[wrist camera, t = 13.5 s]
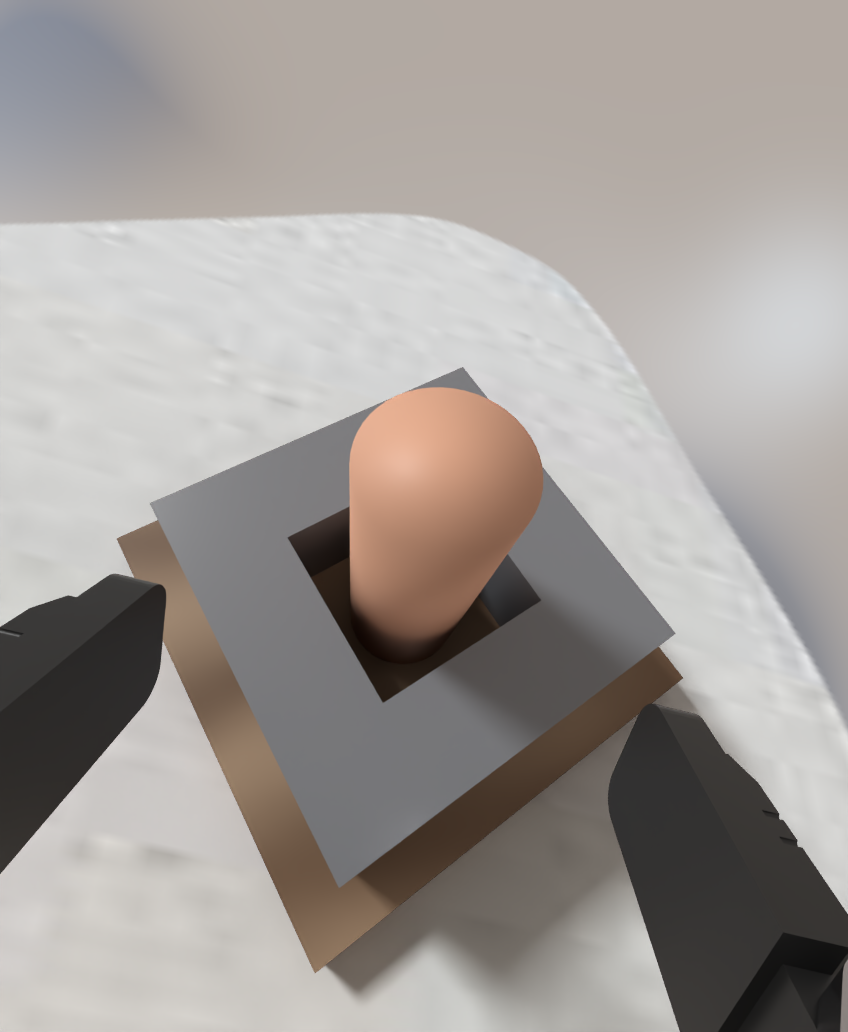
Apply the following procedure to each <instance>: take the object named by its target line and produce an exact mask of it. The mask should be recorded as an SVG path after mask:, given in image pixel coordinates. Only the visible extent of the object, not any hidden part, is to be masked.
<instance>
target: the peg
mask: <svg viewBox="0 0 848 1032" xmlns="http://www.w3.org/2000/svg"><path fill="white" fill-rule="evenodd" d="M349 484H350V614H351V622H352V627H353V630H354V632H355V634H356V636H357V638H358V640H359V641H360V643H361V644H362V645H363V646H364V647H365V648H366V649H367V650H368V651H369V652H370V653H371V654H373V655H374V656H376V657H378V658H380V659H382V660H384V661H387V662H390V663H396V664H409V663H415V662H419V661H421V660H424V659H426V658H428V657H429V656H431V655H432V654H434V653H435V652H436V651H437V650H438V649H439V648H441V646H442V645H443V644H444V643H445V641H446V640H447V638H448V637H449V636H450V634H451V633H452V631H453V630H454V628H455V627H456V626H457V624H458V623H459V621H460V620H461V619H462V617H463V616H464V614H465V613H466V612H467V610H468V609H469V607H470V606H471V605H472V603H473V602H474V600H475V599H476V597H477V596H478V595H479V593H480V592H481V590H482V589H483V588H484V586H485V585H486V583H487V582H488V581H489V579H490V578H491V576H492V575H493V574H494V572H495V571H496V569H497V568H498V566H499V565H500V564H501V562H502V561H503V559H504V558H505V557H506V555H507V554H508V552H509V551H510V550H511V548H512V547H513V545H514V544H515V542H516V541H517V540H518V538H519V537H520V535H521V534H522V533H523V531H524V530H525V528H526V527H527V526H528V524H529V523H530V521H531V520H532V518H533V516H534V515H535V513H536V511H537V509H538V506H539V503H540V501H541V496H542V491H543V468H542V463H541V459H540V456H539V453H538V451H537V448H536V446H535V444H534V442H533V440H532V438H531V437H530V435H529V434H528V432H527V431H526V430H525V428H524V427H523V426H522V425H521V424H520V423H519V421H518V420H517V419H516V418H515V417H513V416H512V415H511V414H510V413H509V412H508V411H506V410H505V409H504V408H502V407H501V406H499V405H498V404H496V403H494V402H492V401H491V400H489V399H487V398H485V397H482V396H480V395H477V394H475V393H471V392H468V391H465V390H459V389H454V388H444V387H430V388H422V389H416V390H412V391H408V392H405V393H402V394H400V395H397V396H395V397H393V398H391V399H389V400H387V401H386V402H384V403H383V404H381V405H380V406H379V407H377V408H376V409H375V410H374V411H373V412H372V413H371V414H370V415H369V416H368V417H367V418H366V419H365V421H364V422H363V423H362V425H361V427H360V428H359V430H358V432H357V434H356V436H355V438H354V441H353V444H352V448H351V452H350V463H349Z"/></svg>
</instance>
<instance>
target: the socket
mask: <svg viewBox="0 0 848 1032" xmlns="http://www.w3.org/2000/svg"><path fill="white" fill-rule="evenodd" d="M430 387H444V388H454V389H459V390H465V391H468V392H471V393H475V394H477V395H480V396H482V397H485V398H487V397H486V396H485V394H484V393H483V392H482V391H481V389H480V388H479V387H478V386H477V384H476V383H475V382H474V381H473V379H472V378H471V377H470V376H469V374H468V373H467V372H466V371H465V369H464V368H463V367H462V368H460V369H457V370H455V371H453V372H451V373H448V374H446V375H444V376H441V377H439V378H437V379H434V380H432V381H430V382H428V383H425V384H423V385H421V386H418V387H416V388H414V389H412V390H416V389H422V388H430ZM412 390H409V391H412ZM407 392H408V391H407ZM487 399H488V398H487ZM386 401H387V400H386ZM386 401H384V402H386ZM384 402H382V403H379V404H377V405H375V406H372V407H370V408H368V409H366V410H363V411H361V412H359V413H356V414H354V415H352V416H349V417H347V418H345V419H343V420H340V421H338V422H336V423H333V424H331V425H329V426H327V427H324V428H322V429H320V430H317V431H315V432H313V433H310V434H308V435H306V436H304V437H301V438H299V439H297V440H294V441H292V442H290V443H287V444H285V445H283V446H281V447H278V448H276V449H274V450H271V451H269V452H267V453H264V454H262V455H260V456H258V457H255V458H253V459H251V460H248V461H246V462H244V463H241V464H239V465H237V466H235V467H232V468H230V469H228V470H225V471H223V472H221V473H219V474H216V475H214V476H212V477H209V478H207V479H205V480H202V481H200V482H198V483H196V484H193V485H191V486H189V487H186V488H184V489H182V490H179V491H177V492H175V493H173V494H170V495H168V496H166V497H163V498H161V499H159V500H156V501H154V502H152V503H150V505H151V507H152V509H153V511H154V513H155V515H156V517H157V519H158V521H159V523H160V525H161V527H162V529H163V531H164V533H165V535H166V537H167V539H168V541H169V543H170V545H171V547H172V549H173V551H174V554H175V556H176V558H177V560H178V562H179V564H180V566H181V568H182V570H183V572H184V574H185V576H186V578H187V580H188V582H189V584H190V586H191V588H192V590H193V592H194V594H195V596H196V598H197V600H198V602H199V604H200V606H201V608H202V610H203V613H204V615H205V617H206V619H207V621H208V623H209V625H210V627H211V629H212V631H213V633H214V635H215V637H216V639H217V641H218V643H219V645H220V647H221V649H222V651H223V653H224V655H225V657H226V659H227V661H228V663H229V665H230V667H231V669H232V671H233V674H234V676H235V678H236V680H237V682H238V684H239V686H240V688H241V690H242V692H243V694H244V696H245V698H246V700H247V702H248V704H249V706H250V708H251V710H252V712H253V714H254V716H255V718H256V720H257V722H258V724H259V726H260V728H261V730H262V732H263V735H264V737H265V739H266V741H267V743H268V745H269V747H270V749H271V751H272V753H273V755H274V757H275V759H276V761H277V763H278V765H279V767H280V769H281V771H282V773H283V775H284V777H285V779H286V781H287V783H288V785H289V787H290V789H291V791H292V794H293V796H294V798H295V800H296V802H297V804H298V806H299V808H300V810H301V812H302V814H303V816H304V818H305V820H306V822H307V824H308V826H309V828H310V830H311V832H312V834H313V836H314V838H315V840H316V842H317V844H318V846H319V848H320V850H321V852H322V855H323V857H324V859H325V861H326V863H327V865H328V867H329V869H330V871H331V873H332V875H333V877H334V879H335V881H336V883H337V885H338V887H339V888H340V887H341V886H343V885H344V884H345V883H347V882H348V881H349V880H351V879H352V878H353V877H355V876H356V875H357V874H359V873H360V872H361V871H363V870H364V869H365V868H366V867H368V866H369V865H370V864H372V863H373V862H374V861H376V860H377V859H378V858H380V857H381V856H382V855H384V854H385V853H386V852H388V851H389V850H390V849H392V848H393V847H394V846H396V845H397V844H398V843H400V842H401V841H402V840H403V839H405V838H406V837H407V836H409V835H410V834H411V833H413V832H414V831H415V830H417V829H418V828H419V827H421V826H422V825H423V824H425V823H426V822H427V821H429V820H430V819H431V818H433V817H434V816H435V815H437V814H438V813H439V812H440V811H442V810H443V809H444V808H446V807H447V806H448V805H450V804H451V803H452V802H454V801H455V800H456V799H458V798H459V797H460V796H462V795H463V794H464V793H466V792H467V791H468V790H470V789H471V788H472V787H473V786H475V785H476V784H477V783H479V782H480V781H481V780H483V779H484V778H485V777H487V776H488V775H489V774H491V773H492V772H493V771H495V770H496V769H497V768H499V767H500V766H501V765H503V764H504V763H505V762H507V761H508V760H509V759H510V758H512V757H513V756H514V755H516V754H517V753H518V752H520V751H521V750H522V749H524V748H525V747H526V746H528V745H529V744H530V743H532V742H533V741H534V740H536V739H537V738H538V737H540V736H541V735H542V734H544V733H545V732H546V731H547V730H549V729H550V728H551V727H553V726H554V725H555V724H557V723H558V722H559V721H561V720H562V719H563V718H565V717H566V716H567V715H569V714H570V713H571V712H573V711H574V710H575V709H577V708H578V707H579V706H581V705H582V704H583V703H584V702H586V701H587V700H588V699H590V698H591V697H592V696H594V695H595V694H596V693H598V692H599V691H600V690H602V689H603V688H604V687H606V686H607V685H608V684H610V683H611V682H612V681H614V680H615V679H616V678H618V677H619V676H620V675H621V674H623V673H624V672H625V671H627V670H628V669H629V668H631V667H632V666H633V665H635V664H636V663H637V662H639V661H640V660H641V659H643V658H644V657H645V656H647V655H648V654H649V653H651V652H652V651H653V650H654V649H656V648H657V647H658V646H660V645H661V644H662V643H664V642H665V641H666V640H668V639H669V638H670V637H672V636H673V635H674V634H676V633H675V632H674V631H673V630H672V628H671V627H670V626H669V625H668V623H667V622H666V621H665V620H664V618H663V617H662V616H661V615H660V613H659V612H658V611H657V610H656V608H655V607H654V606H653V605H652V603H651V602H650V601H649V600H648V598H647V597H646V596H645V595H644V593H643V592H642V591H641V590H640V588H639V587H638V586H637V585H636V583H635V582H634V581H633V580H632V578H631V577H630V576H629V575H628V573H627V572H626V571H625V570H624V568H623V567H622V566H621V565H620V563H619V562H618V561H617V560H616V558H615V557H614V556H613V555H612V553H611V552H610V551H609V550H608V548H607V547H606V546H605V545H604V543H603V542H602V541H601V540H600V538H599V537H598V536H597V535H596V533H595V532H594V531H593V530H592V528H591V527H590V526H589V525H588V523H587V522H586V521H585V520H584V518H583V517H582V516H581V515H580V513H579V512H578V511H577V510H576V508H575V507H574V506H573V505H572V503H571V502H570V501H569V500H568V498H567V497H566V496H565V495H564V493H563V492H562V491H561V490H560V488H559V487H558V486H557V485H556V483H555V482H554V481H553V480H552V478H551V477H550V476H549V475H548V473H547V472H546V471H545V470H544V468H543V467H542V468H543V491H542V496H541V501H540V503H539V506H538V509H537V511H536V513H535V515H534V516H533V518H532V520H531V521H530V523H529V524H528V526H527V527H526V528H525V530H524V531H523V533H522V534H521V535H520V537H519V538H518V540H517V541H516V542H515V544H514V545H513V547H512V548H511V550H510V551H509V552H508V554H507V555H506V557H505V558H504V559H503V561H502V562H501V564H500V565H499V566H498V568H497V569H496V571H495V572H494V574H493V575H492V576H491V578H490V579H489V581H488V582H487V583H486V585H485V586H484V588H483V589H482V590H481V592H480V593H479V595H478V596H479V597H480V599H481V600H482V602H483V603H484V605H485V606H486V608H487V609H488V610H489V612H490V613H491V615H492V616H493V618H494V619H495V621H496V622H497V624H498V625H499V627H500V628H498V629H496V630H495V631H493V632H492V633H490V634H489V635H487V636H486V637H484V638H483V639H481V640H480V641H478V642H476V643H475V644H473V645H472V646H470V647H469V648H467V649H466V650H464V651H463V652H461V653H459V654H458V655H456V656H455V657H453V658H452V659H450V660H449V661H447V662H446V663H444V664H443V665H441V666H439V667H438V668H436V669H435V670H433V671H432V672H430V673H429V674H427V675H426V676H424V677H423V678H421V679H419V680H418V681H416V682H415V683H413V684H412V685H410V686H409V687H407V688H406V689H404V690H402V691H401V692H399V693H398V694H396V695H395V696H393V697H392V698H390V699H389V700H387V701H386V702H384V703H383V702H382V701H381V699H380V697H379V695H378V694H377V692H376V690H375V688H374V687H373V685H372V683H371V681H370V680H369V678H368V676H367V675H366V673H365V671H364V669H363V668H362V666H361V664H360V662H359V661H358V659H357V657H356V655H355V654H354V652H353V650H352V649H351V647H350V645H349V643H348V642H347V640H346V638H345V636H344V635H343V633H342V631H341V630H340V628H339V626H338V624H337V623H336V621H335V619H334V617H333V616H332V614H331V612H330V610H329V609H328V607H327V605H326V604H325V602H324V600H323V598H322V597H321V595H320V593H319V591H318V590H317V588H316V586H315V585H314V583H313V581H312V579H311V577H313V576H315V575H316V574H318V573H320V572H322V571H324V570H326V569H328V568H330V567H331V566H333V565H335V564H337V563H339V562H341V561H343V560H345V559H346V558H348V557H350V484H349V463H350V452H351V448H352V444H353V441H354V438H355V436H356V434H357V432H358V430H359V428H360V427H361V425H362V423H363V422H364V421H365V419H366V418H367V417H368V416H369V415H370V414H371V413H372V412H373V411H374V410H375V409H376V408H377V407H379V406H380V405H381V404H383V403H384Z"/></svg>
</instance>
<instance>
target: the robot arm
mask: <svg viewBox="0 0 848 1032" xmlns="http://www.w3.org/2000/svg"><path fill="white" fill-rule="evenodd" d="M165 609H166V590H165V588H164V586H163V585H161V584H157V583H153V582H149V581H145V580H140V579H136V578H132V577H128V576H124V575H120V574H111V575H109V576H107V577H106V578H104V579H103V580H101V581H100V582H98V583H97V584H96V585H94V586H93V587H91V588H90V589H88V590H87V591H85V592H84V593H82V594H81V595H79V596H78V597H73V596H65V597H62V598H59V599H56V600H53V601H50V602H47V603H44V604H41V605H38V606H35V607H32V608H29V609H28V610H26V611H25V612H23V613H22V614H20V615H18V616H17V617H15V618H14V619H12V620H11V621H9V622H7V623H6V624H4V625H3V626H1V627H0V874H1V872H2V871H3V870H4V869H5V868H6V867H7V865H8V864H9V863H10V862H11V861H12V859H13V858H14V857H15V856H16V855H17V854H18V852H19V851H20V850H21V849H22V848H23V847H24V845H25V844H26V843H27V842H28V841H29V839H30V838H31V837H32V836H33V835H34V834H35V832H36V831H37V830H38V829H39V828H40V827H41V825H42V824H43V823H44V822H45V821H46V819H47V818H48V817H49V816H50V815H51V814H52V812H53V811H54V810H55V809H56V808H57V807H58V805H59V804H60V803H61V802H62V801H63V799H64V798H65V797H66V796H67V795H68V794H69V792H70V791H71V790H72V789H73V788H74V787H75V785H76V784H77V783H78V782H79V781H80V779H81V778H82V777H83V776H84V775H85V774H86V772H87V771H88V770H89V769H90V768H91V767H92V765H93V764H94V763H95V762H96V761H97V759H98V758H99V757H100V756H101V755H102V754H103V752H104V751H105V750H106V749H107V748H108V747H109V745H110V744H111V743H112V742H113V741H114V739H115V738H116V737H117V736H118V735H119V734H120V732H121V731H122V730H123V729H124V728H125V727H126V725H127V724H128V723H129V722H130V721H131V719H132V718H133V717H134V716H135V715H136V714H137V712H138V711H139V710H140V709H141V708H142V706H143V705H144V704H145V702H146V701H147V699H148V698H149V696H150V694H151V692H152V690H153V688H154V685H155V683H156V680H157V677H158V674H159V669H160V662H161V652H162V641H163V631H164V620H165ZM608 805H609V813H610V817H611V820H612V823H613V827H614V830H615V833H616V836H617V839H618V842H619V845H620V848H621V851H622V854H623V857H624V860H625V864H626V867H627V870H628V873H629V876H630V879H631V882H632V885H633V888H634V891H635V894H636V897H637V901H638V904H639V907H640V910H641V913H642V916H643V919H644V922H645V925H646V928H647V931H648V934H649V938H650V941H651V944H652V947H653V950H654V953H655V956H656V959H657V962H658V965H659V968H660V972H661V975H662V978H663V981H664V984H665V987H666V990H667V993H668V996H669V999H670V1002H671V1005H672V1009H673V1012H674V1015H675V1018H676V1021H677V1024H678V1027H679V1030H680V1032H848V914H847V913H846V911H845V910H844V908H843V907H842V905H841V904H840V902H839V901H838V899H837V898H836V896H835V895H834V893H833V892H832V890H831V889H830V888H829V886H828V885H827V883H826V882H825V880H824V879H823V877H822V876H821V874H820V873H819V871H818V870H817V868H816V867H815V866H814V864H813V863H812V861H811V860H810V858H809V857H808V855H807V854H806V852H805V851H804V849H803V848H801V847H798V846H797V839H796V838H795V836H794V835H793V833H792V832H791V830H790V829H789V827H788V826H787V824H786V823H785V822H784V820H780V819H779V813H778V811H777V810H776V808H775V807H774V805H773V804H772V802H771V801H770V800H769V798H768V797H767V795H766V794H765V792H764V791H763V789H762V788H761V786H760V785H759V783H758V782H757V781H756V780H755V779H754V778H752V777H751V776H750V775H749V774H748V773H747V772H746V771H745V770H744V769H743V768H742V767H741V766H740V765H739V764H738V763H737V762H736V761H735V760H734V759H733V758H731V757H730V756H729V755H728V754H725V753H724V751H723V750H722V748H721V746H720V745H719V743H718V742H717V740H716V739H715V737H714V736H713V734H712V733H711V731H710V730H709V728H708V726H707V725H706V723H705V722H704V720H703V719H702V718H701V717H700V716H699V715H697V714H693V713H689V712H685V711H681V710H677V709H673V708H668V707H664V706H660V705H656V704H648V705H646V706H645V707H644V708H643V709H642V710H641V712H640V714H639V715H638V718H637V720H636V722H635V724H634V727H633V729H632V731H631V733H630V736H629V738H628V740H627V742H626V745H625V747H624V749H623V751H622V753H621V756H620V758H619V760H618V762H617V765H616V767H615V769H614V771H613V774H612V776H611V780H610V785H609V792H608Z"/></svg>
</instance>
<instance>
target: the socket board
mask: <svg viewBox="0 0 848 1032" xmlns="http://www.w3.org/2000/svg"><path fill="white" fill-rule="evenodd" d="M117 540H118V543H119V545H120V547H121V549H122V551H123V554H124V556H125V558H126V560H127V562H128V564H129V567H130V569H131V571H132V573H133V575H134V578H136V579H140V580H145V581H149V582H153V583H157V584H161V585H163V586H164V588H165V590H166V609H165V620H164V631H163V641H164V643H165V646H166V648H167V650H168V652H169V654H170V657H171V659H172V661H173V663H174V665H175V668H176V670H177V672H178V674H179V676H180V679H181V681H182V683H183V685H184V687H185V690H186V692H187V694H188V696H189V698H190V700H191V703H192V705H193V707H194V709H195V711H196V714H197V716H198V718H199V720H200V722H201V725H202V727H203V729H204V731H205V733H206V736H207V738H208V740H209V742H210V744H211V747H212V749H213V751H214V753H215V755H216V758H217V760H218V762H219V764H220V766H221V768H222V771H223V773H224V775H225V777H226V779H227V782H228V784H229V786H230V788H231V790H232V793H233V795H234V797H235V799H236V801H237V804H238V806H239V808H240V810H241V812H242V815H243V817H244V819H245V821H246V823H247V826H248V828H249V830H250V832H251V834H252V836H253V839H254V841H255V843H256V845H257V847H258V850H259V852H260V854H261V856H262V858H263V861H264V863H265V865H266V867H267V869H268V872H269V874H270V876H271V878H272V880H273V883H274V885H275V887H276V889H277V891H278V894H279V896H280V898H281V900H282V902H283V904H284V907H285V909H286V911H287V913H288V915H289V918H290V920H291V922H292V924H293V926H294V929H295V931H296V933H297V935H298V937H299V940H300V942H301V944H302V946H303V948H304V951H305V953H306V955H307V957H308V959H309V962H310V964H311V966H312V968H313V970H314V972H315V973H316V972H317V971H319V970H320V969H321V968H322V967H323V966H325V965H326V964H327V963H328V962H330V961H331V960H332V959H333V958H335V957H336V956H337V955H338V954H340V953H341V952H342V951H343V950H345V949H346V948H347V947H348V946H350V945H351V944H352V943H353V942H355V941H356V940H357V939H358V938H360V937H361V936H362V935H363V934H365V933H366V932H367V931H368V930H370V929H371V928H372V927H373V926H375V925H376V924H377V923H378V922H380V921H381V920H382V919H383V918H385V917H386V916H387V915H388V914H390V913H391V912H392V911H393V910H395V909H396V908H397V907H398V906H400V905H401V904H402V903H403V902H405V901H406V900H407V899H408V898H410V897H411V896H412V895H413V894H414V893H416V892H417V891H418V890H419V889H421V888H422V887H423V886H424V885H426V884H427V883H428V882H429V881H431V880H432V879H433V878H434V877H436V876H437V875H438V874H439V873H441V872H442V871H443V870H444V869H446V868H447V867H448V866H449V865H451V864H452V863H453V862H454V861H456V860H457V859H458V858H459V857H461V856H462V855H463V854H464V853H466V852H467V851H468V850H469V849H471V848H472V847H473V846H474V845H476V844H477V843H478V842H479V841H481V840H482V839H483V838H484V837H486V836H487V835H488V834H489V833H491V832H492V831H493V830H494V829H496V828H497V827H498V826H499V825H501V824H502V823H503V822H504V821H506V820H507V819H508V818H509V817H510V816H512V815H513V814H514V813H515V812H517V811H518V810H519V809H520V808H522V807H523V806H524V805H525V804H527V803H528V802H529V801H530V800H532V799H533V798H534V797H535V796H537V795H538V794H539V793H540V792H542V791H543V790H544V789H545V788H547V787H548V786H549V785H550V784H552V783H553V782H554V781H555V780H557V779H558V778H559V777H560V776H562V775H563V774H564V773H565V772H567V771H568V770H569V769H570V768H572V767H573V766H574V765H575V764H577V763H578V762H579V761H580V760H582V759H583V758H584V757H585V756H587V755H588V754H589V753H590V752H592V751H593V750H594V749H595V748H597V747H598V746H599V745H600V744H601V743H603V742H604V741H605V740H606V739H608V738H609V737H610V736H611V735H613V734H614V733H615V732H616V731H618V730H619V729H620V728H621V727H623V726H624V725H625V724H626V723H628V722H629V721H630V720H631V719H633V718H634V717H635V716H636V715H638V714H639V713H640V712H641V710H642V709H643V708H644V707H645V706H646V705H648V704H651V703H653V702H654V701H655V700H656V699H658V698H659V697H660V696H661V695H663V694H664V693H665V692H666V691H668V690H669V689H670V688H671V687H673V686H674V685H675V684H676V683H678V682H679V681H680V680H681V679H683V677H682V676H681V675H680V673H679V672H678V671H677V670H676V668H675V667H674V666H673V664H672V663H671V662H670V661H669V659H668V658H667V657H666V656H665V654H664V653H663V652H662V650H661V649H660V648H659V647H657V648H656V649H654V650H653V651H652V652H651V653H649V654H648V655H647V656H645V657H644V658H643V659H641V660H640V661H639V662H637V663H636V664H635V665H633V666H632V667H631V668H629V669H628V670H627V671H625V672H624V673H623V674H621V675H620V676H619V677H618V678H616V679H615V680H614V681H612V682H611V683H610V684H608V685H607V686H606V687H604V688H603V689H602V690H600V691H599V692H598V693H596V694H595V695H594V696H592V697H591V698H590V699H588V700H587V701H586V702H584V703H583V704H582V705H581V706H579V707H578V708H577V709H575V710H574V711H573V712H571V713H570V714H569V715H567V716H566V717H565V718H563V719H562V720H561V721H559V722H558V723H557V724H555V725H554V726H553V727H551V728H550V729H549V730H547V731H546V732H545V733H544V734H542V735H541V736H540V737H538V738H537V739H536V740H534V741H533V742H532V743H530V744H529V745H528V746H526V747H525V748H524V749H522V750H521V751H520V752H518V753H517V754H516V755H514V756H513V757H512V758H510V759H509V760H508V761H507V762H505V763H504V764H503V765H501V766H500V767H499V768H497V769H496V770H495V771H493V772H492V773H491V774H489V775H488V776H487V777H485V778H484V779H483V780H481V781H480V782H479V783H477V784H476V785H475V786H473V787H472V788H471V789H470V790H468V791H467V792H466V793H464V794H463V795H462V796H460V797H459V798H458V799H456V800H455V801H454V802H452V803H451V804H450V805H448V806H447V807H446V808H444V809H443V810H442V811H440V812H439V813H438V814H437V815H435V816H434V817H433V818H431V819H430V820H429V821H427V822H426V823H425V824H423V825H422V826H421V827H419V828H418V829H417V830H415V831H414V832H413V833H411V834H410V835H409V836H407V837H406V838H405V839H403V840H402V841H401V842H400V843H398V844H397V845H396V846H394V847H393V848H392V849H390V850H389V851H388V852H386V853H385V854H384V855H382V856H381V857H380V858H378V859H377V860H376V861H374V862H373V863H372V864H370V865H369V866H368V867H366V868H365V869H364V870H363V871H361V872H360V873H359V874H357V875H356V876H355V877H353V878H352V879H351V880H349V881H348V882H347V883H345V884H344V885H343V886H341V887H340V888H339V887H338V885H337V883H336V881H335V879H334V877H333V875H332V873H331V871H330V869H329V867H328V865H327V863H326V861H325V859H324V857H323V855H322V852H321V850H320V848H319V846H318V844H317V842H316V840H315V838H314V836H313V834H312V832H311V830H310V828H309V826H308V824H307V822H306V820H305V818H304V816H303V814H302V812H301V810H300V808H299V806H298V804H297V802H296V800H295V798H294V796H293V794H292V791H291V789H290V787H289V785H288V783H287V781H286V779H285V777H284V775H283V773H282V771H281V769H280V767H279V765H278V763H277V761H276V759H275V757H274V755H273V753H272V751H271V749H270V747H269V745H268V743H267V741H266V739H265V737H264V735H263V732H262V730H261V728H260V726H259V724H258V722H257V720H256V718H255V716H254V714H253V712H252V710H251V708H250V706H249V704H248V702H247V700H246V698H245V696H244V694H243V692H242V690H241V688H240V686H239V684H238V682H237V680H236V678H235V676H234V674H233V671H232V669H231V667H230V665H229V663H228V661H227V659H226V657H225V655H224V653H223V651H222V649H221V647H220V645H219V643H218V641H217V639H216V637H215V635H214V633H213V631H212V629H211V627H210V625H209V623H208V621H207V619H206V617H205V615H204V613H203V610H202V608H201V606H200V604H199V602H198V600H197V598H196V596H195V594H194V592H193V590H192V588H191V586H190V584H189V582H188V580H187V578H186V576H185V574H184V572H183V570H182V568H181V566H180V564H179V562H178V560H177V558H176V556H175V554H174V551H173V549H172V547H171V545H170V543H169V541H168V539H167V537H166V535H165V533H164V531H163V529H162V527H161V525H160V523H159V521H158V520H157V521H155V522H153V523H150V524H148V525H146V526H144V527H141V528H139V529H137V530H135V531H132V532H130V533H128V534H126V535H124V536H121V537H119V538H117ZM311 579H312V581H313V583H314V585H315V586H316V588H317V590H318V591H319V593H320V595H321V597H322V598H323V600H324V602H325V604H326V605H327V607H328V609H329V610H330V612H331V614H332V616H333V617H334V619H335V621H336V623H337V624H338V626H339V628H340V630H341V631H342V633H343V635H344V636H345V638H346V640H347V642H348V643H349V645H350V647H351V649H352V650H353V652H354V654H355V655H356V657H357V659H358V661H359V662H360V664H361V666H362V668H363V669H364V671H365V673H366V675H367V676H368V678H369V680H370V681H371V683H372V685H373V687H374V688H375V690H376V692H377V694H378V695H379V697H380V699H381V701H382V702H383V703H384V702H386V701H387V700H389V699H390V698H392V697H393V696H395V695H396V694H398V693H399V692H401V691H402V690H404V689H406V688H407V687H409V686H410V685H412V684H413V683H415V682H416V681H418V680H419V679H421V678H423V677H424V676H426V675H427V674H429V673H430V672H432V671H433V670H435V669H436V668H438V667H439V666H441V665H443V664H444V663H446V662H447V661H449V660H450V659H452V658H453V657H455V656H456V655H458V654H459V653H461V652H463V651H464V650H466V649H467V648H469V647H470V646H472V645H473V644H475V643H476V642H478V641H480V640H481V639H483V638H484V637H486V636H487V635H489V634H490V633H492V632H493V631H495V630H496V629H498V628H500V627H499V625H498V624H497V622H496V621H495V619H494V618H493V616H492V615H491V613H490V612H489V610H488V609H487V608H486V606H485V605H484V603H483V602H482V600H481V599H480V597H479V596H477V597H476V599H475V600H474V602H473V603H472V605H471V606H470V607H469V609H468V610H467V612H466V613H465V614H464V616H463V617H462V619H461V620H460V621H459V623H458V624H457V626H456V627H455V628H454V630H453V631H452V633H451V634H450V636H449V637H448V638H447V640H446V641H445V643H444V644H443V645H442V646H441V648H439V649H438V650H437V651H436V652H435V653H434V654H432V655H431V656H429V657H428V658H426V659H424V660H421V661H419V662H415V663H409V664H396V663H390V662H387V661H384V660H382V659H380V658H378V657H376V656H374V655H373V654H371V653H370V652H369V651H368V650H367V649H366V648H365V647H364V646H363V645H362V644H361V643H360V641H359V640H358V638H357V636H356V634H355V632H354V630H353V627H352V622H351V614H350V557H348V558H346V559H345V560H343V561H341V562H339V563H337V564H335V565H333V566H331V567H330V568H328V569H326V570H324V571H322V572H320V573H318V574H316V575H315V576H313V577H311Z"/></svg>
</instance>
